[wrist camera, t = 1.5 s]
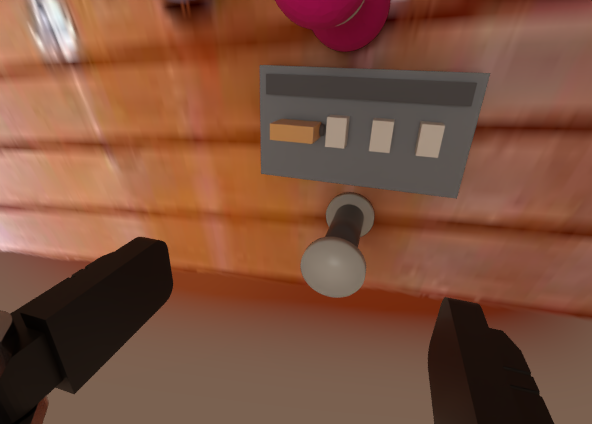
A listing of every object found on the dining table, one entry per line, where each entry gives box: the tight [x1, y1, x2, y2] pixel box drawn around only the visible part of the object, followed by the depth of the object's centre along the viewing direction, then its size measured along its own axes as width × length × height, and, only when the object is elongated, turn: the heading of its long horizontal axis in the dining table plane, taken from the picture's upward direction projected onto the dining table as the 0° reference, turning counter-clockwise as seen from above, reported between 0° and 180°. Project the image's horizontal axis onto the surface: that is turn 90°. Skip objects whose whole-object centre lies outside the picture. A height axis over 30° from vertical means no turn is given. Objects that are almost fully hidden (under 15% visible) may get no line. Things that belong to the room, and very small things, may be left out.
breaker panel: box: [260, 65, 490, 198], centre depth 33 cm, size 22×12×5 cm, turn 88°
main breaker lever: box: [270, 119, 325, 144], centre depth 32 cm, size 5×2×4 cm, turn 88°
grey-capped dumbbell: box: [301, 192, 374, 297], centre depth 35 cm, size 6×6×13 cm
